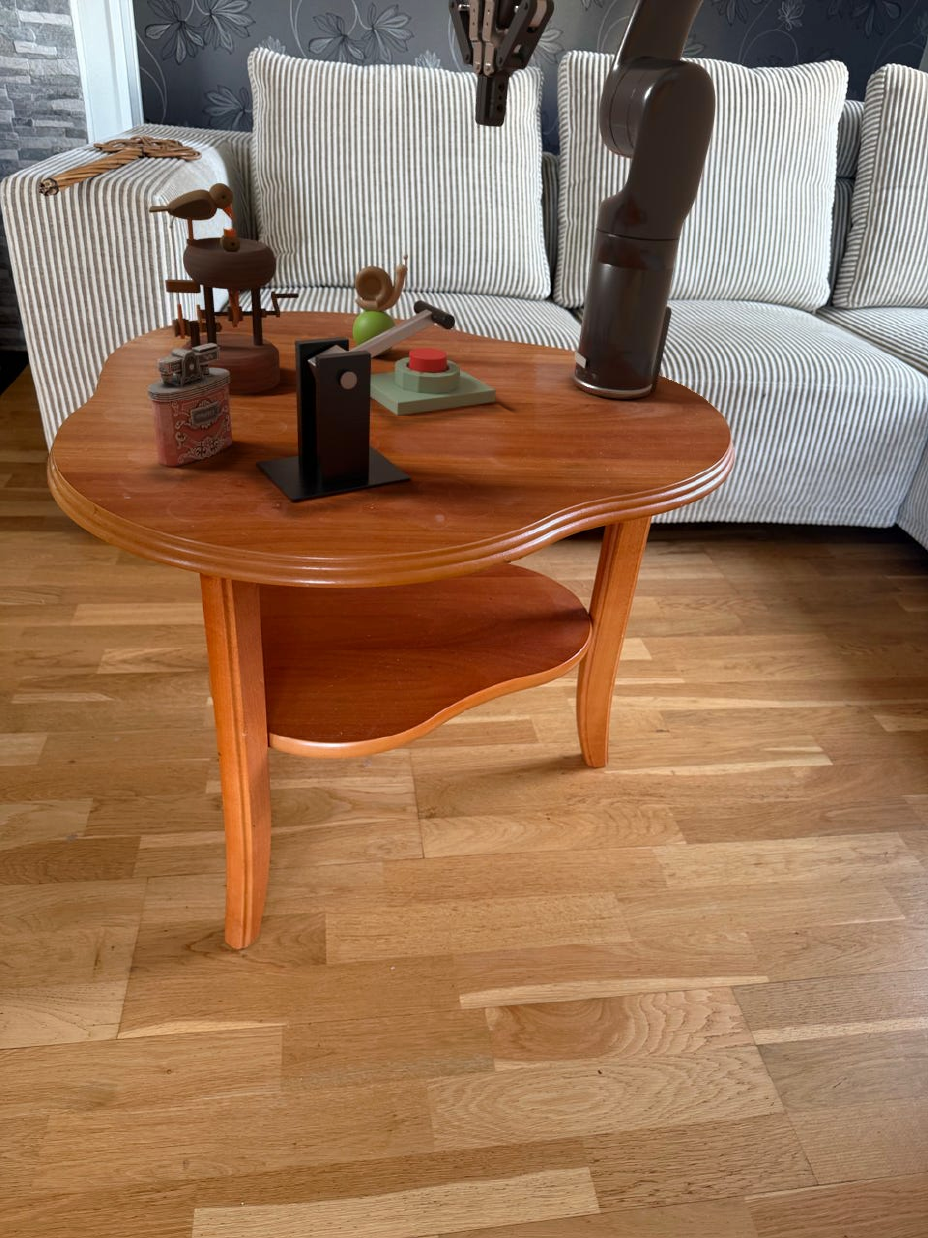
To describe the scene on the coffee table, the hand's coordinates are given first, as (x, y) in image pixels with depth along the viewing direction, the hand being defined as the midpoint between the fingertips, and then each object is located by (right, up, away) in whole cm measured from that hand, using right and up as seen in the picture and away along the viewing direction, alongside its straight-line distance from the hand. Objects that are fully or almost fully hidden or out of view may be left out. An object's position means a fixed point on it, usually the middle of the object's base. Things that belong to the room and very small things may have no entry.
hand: (489, 125), depth 78 cm
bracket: (-14, -32, -2) cm, 35 cm away
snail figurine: (-13, -11, +30) cm, 35 cm away
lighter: (-26, -30, 0) cm, 40 cm away
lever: (-9, -22, -5) cm, 25 cm away
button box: (-6, -20, +17) cm, 28 cm away
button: (-6, -17, +15) cm, 24 cm away
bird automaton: (-27, -17, +19) cm, 38 cm away
